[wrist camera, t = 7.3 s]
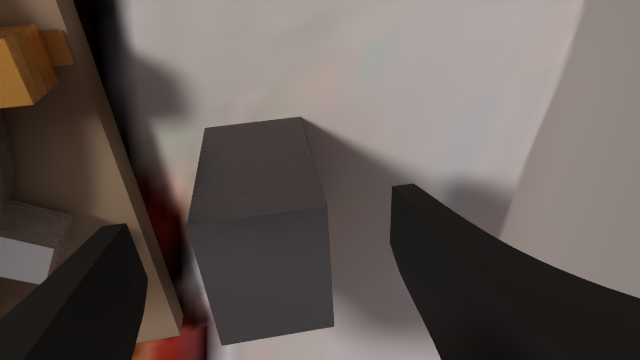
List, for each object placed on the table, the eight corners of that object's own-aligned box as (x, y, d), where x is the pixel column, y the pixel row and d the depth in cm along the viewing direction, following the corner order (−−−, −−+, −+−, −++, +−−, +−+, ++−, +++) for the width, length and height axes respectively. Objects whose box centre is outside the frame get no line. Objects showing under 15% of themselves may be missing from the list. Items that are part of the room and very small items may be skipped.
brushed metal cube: (309, 216, 15) (334, 326, 11) (227, 227, 15) (221, 345, 11) (300, 116, 13) (326, 206, 9) (205, 127, 13) (186, 225, 9)
